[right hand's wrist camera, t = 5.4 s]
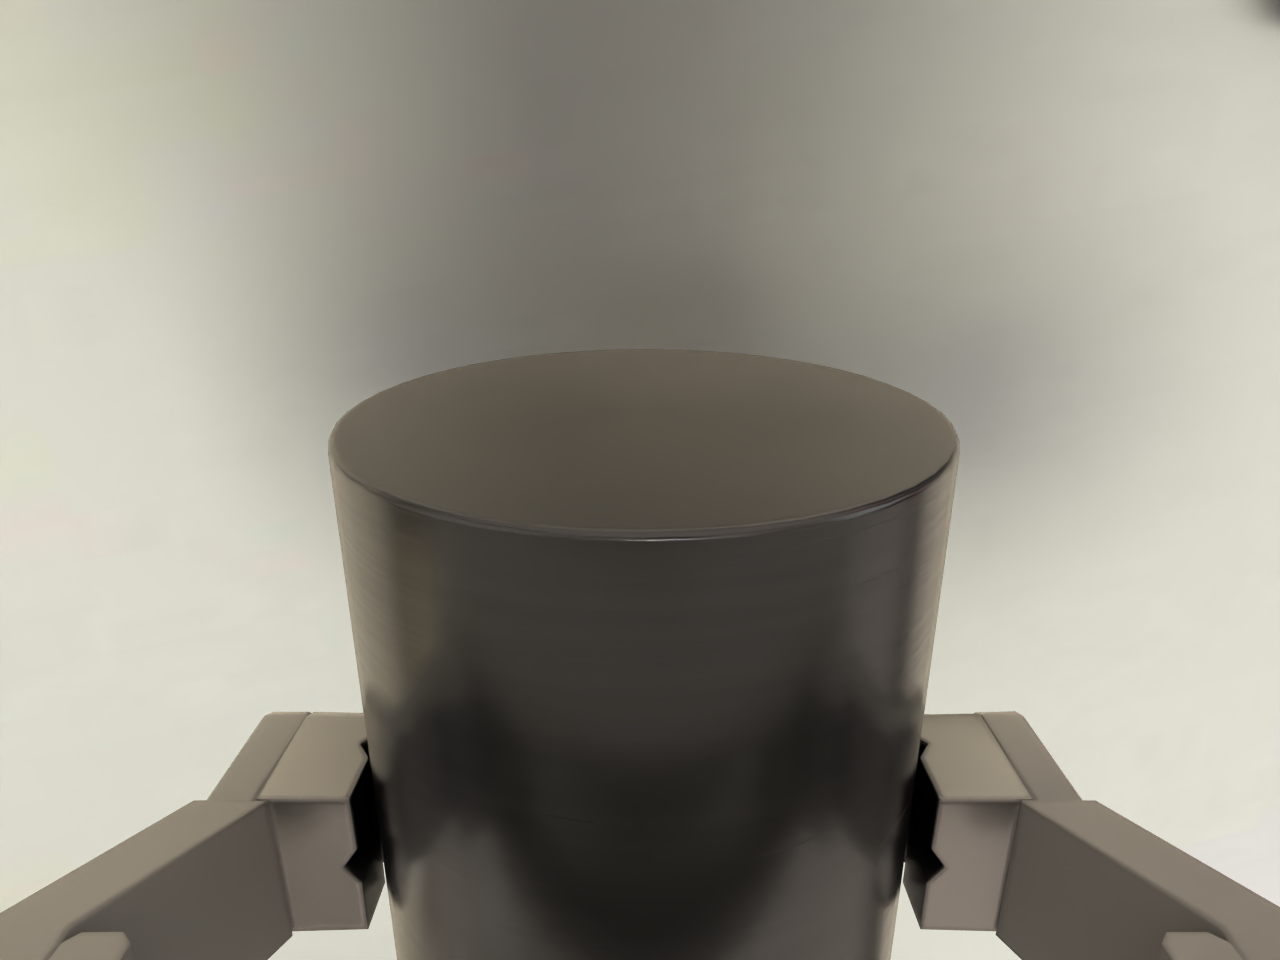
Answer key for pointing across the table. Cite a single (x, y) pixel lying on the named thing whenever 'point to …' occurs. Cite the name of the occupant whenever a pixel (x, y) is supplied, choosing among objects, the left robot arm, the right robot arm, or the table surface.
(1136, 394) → the table surface
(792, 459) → the rod
